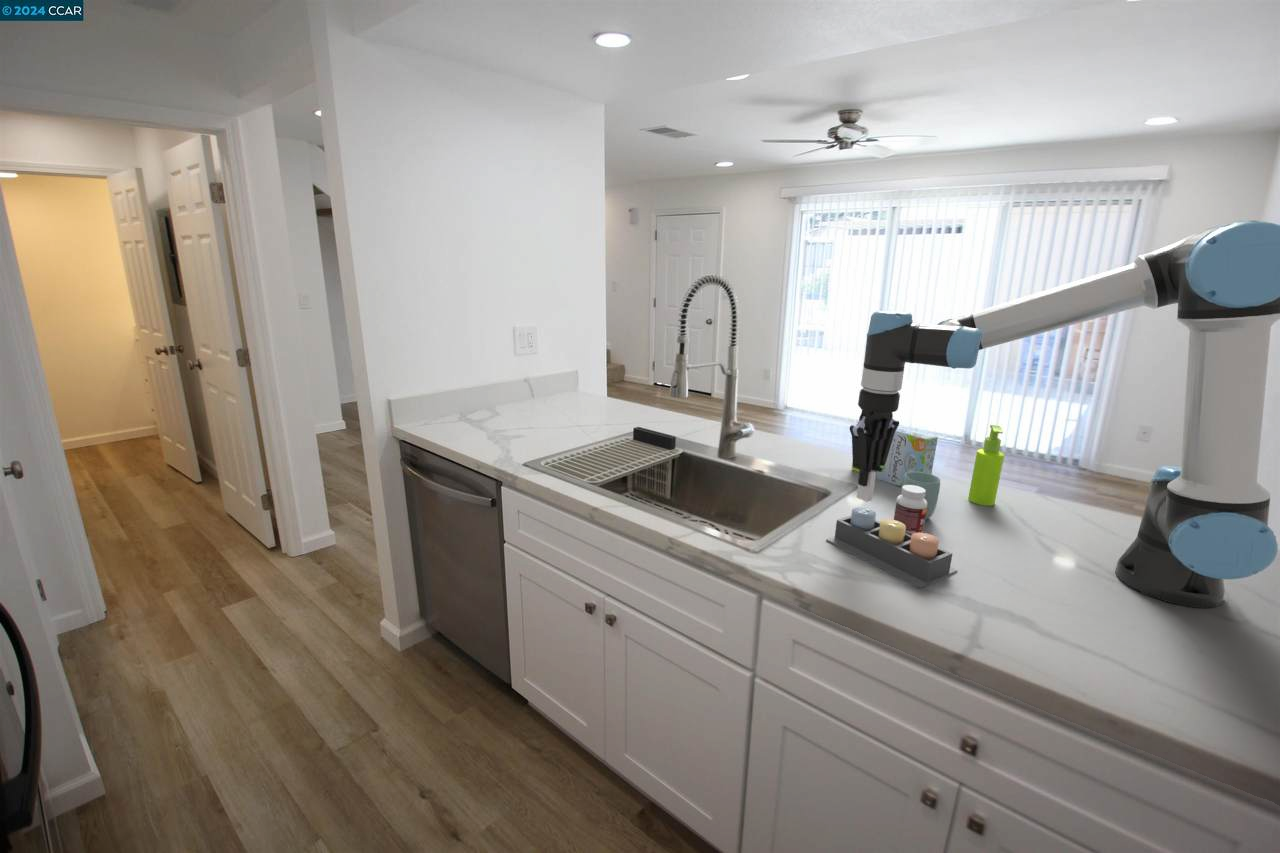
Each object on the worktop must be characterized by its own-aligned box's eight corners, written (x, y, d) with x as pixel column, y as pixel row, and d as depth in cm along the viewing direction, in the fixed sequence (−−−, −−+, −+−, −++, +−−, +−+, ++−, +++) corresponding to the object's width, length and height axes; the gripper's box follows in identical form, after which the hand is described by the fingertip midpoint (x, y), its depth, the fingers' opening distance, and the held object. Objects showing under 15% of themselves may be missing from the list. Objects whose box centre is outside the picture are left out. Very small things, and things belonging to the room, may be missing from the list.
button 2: (907, 546, 117) (911, 525, 116) (892, 552, 114) (896, 530, 113) (887, 537, 121) (890, 516, 119) (872, 542, 118) (875, 521, 117)
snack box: (930, 489, 154) (939, 436, 150) (918, 494, 151) (927, 439, 147) (861, 466, 171) (868, 418, 167) (849, 470, 168) (856, 420, 164)
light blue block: (878, 533, 123) (880, 512, 121) (863, 538, 120) (866, 517, 119) (859, 524, 126) (861, 504, 125) (844, 529, 124) (847, 509, 123)
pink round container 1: (940, 561, 111) (944, 539, 110) (925, 567, 109) (929, 545, 107) (917, 551, 115) (921, 529, 114) (902, 557, 113) (906, 535, 111)
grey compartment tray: (957, 572, 112) (960, 551, 111) (920, 588, 106) (923, 566, 105) (862, 528, 130) (864, 510, 129) (826, 540, 124) (828, 521, 123)
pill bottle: (924, 543, 124) (932, 495, 121) (893, 538, 126) (900, 492, 123) (919, 531, 130) (927, 485, 127) (890, 527, 131) (896, 482, 128)
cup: (938, 524, 133) (945, 484, 130) (902, 521, 134) (908, 481, 132) (929, 511, 140) (935, 472, 138) (895, 508, 142) (900, 470, 139)
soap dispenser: (970, 504, 145) (984, 428, 139) (966, 495, 151) (980, 421, 145) (997, 508, 142) (1012, 431, 137) (992, 498, 149) (1007, 424, 143)
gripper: (884, 383, 121) (869, 487, 128) (843, 389, 115) (829, 498, 121) (917, 390, 115) (899, 499, 122) (875, 396, 108) (858, 511, 115)
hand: (864, 498), depth 121 cm, fingers closed
